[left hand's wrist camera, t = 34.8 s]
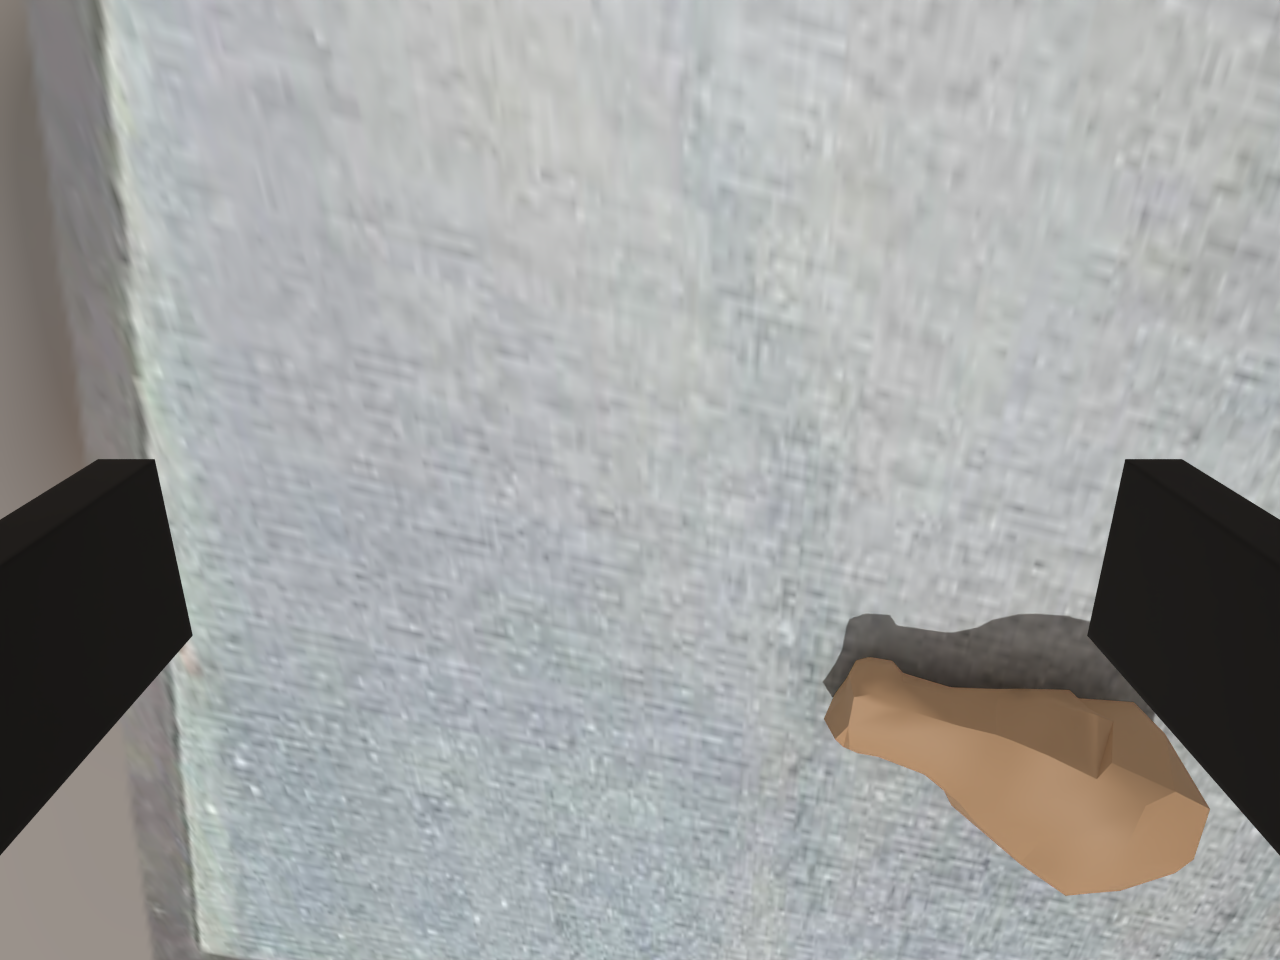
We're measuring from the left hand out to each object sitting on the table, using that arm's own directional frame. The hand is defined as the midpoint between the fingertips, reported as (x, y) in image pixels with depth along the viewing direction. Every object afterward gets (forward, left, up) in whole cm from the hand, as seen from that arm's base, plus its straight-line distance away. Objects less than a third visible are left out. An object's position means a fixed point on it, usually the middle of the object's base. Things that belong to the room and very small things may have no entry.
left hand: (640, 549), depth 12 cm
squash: (+33, +5, -32) cm, 47 cm away
